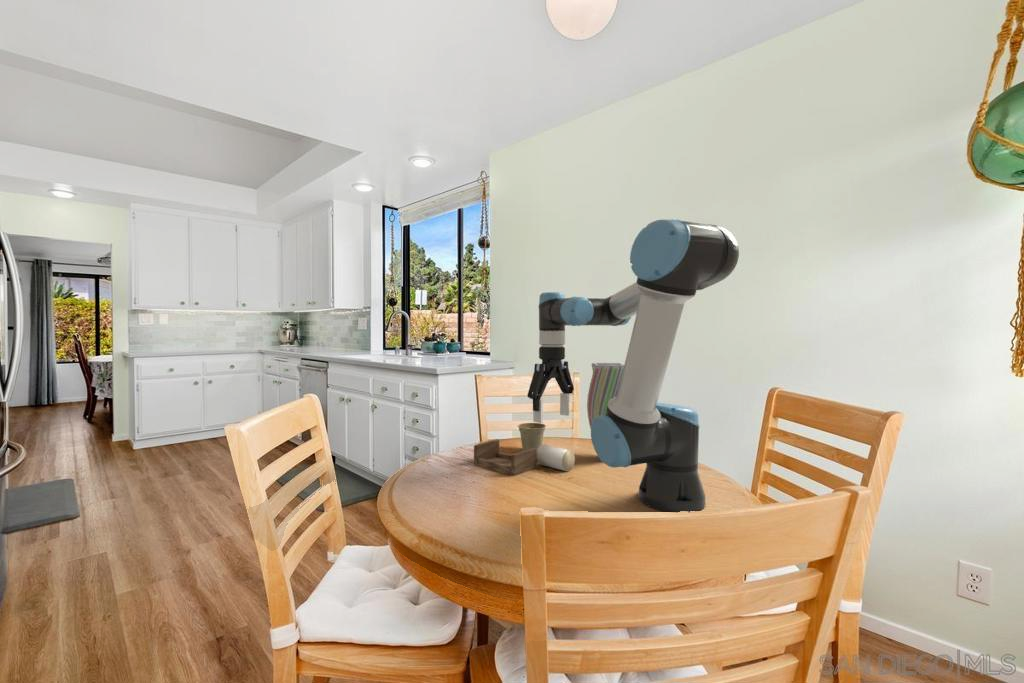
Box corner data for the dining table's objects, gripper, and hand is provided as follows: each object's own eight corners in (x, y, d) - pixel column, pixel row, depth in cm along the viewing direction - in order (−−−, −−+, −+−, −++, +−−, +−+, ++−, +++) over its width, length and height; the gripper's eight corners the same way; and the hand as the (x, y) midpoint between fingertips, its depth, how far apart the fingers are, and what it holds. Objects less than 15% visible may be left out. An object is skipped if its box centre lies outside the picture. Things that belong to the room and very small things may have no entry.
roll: (573, 471, 135) (576, 450, 136) (562, 471, 131) (564, 449, 131) (545, 464, 142) (548, 444, 142) (534, 464, 137) (537, 443, 138)
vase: (583, 453, 152) (584, 361, 150) (625, 453, 151) (626, 362, 150) (589, 466, 138) (589, 365, 137) (634, 466, 137) (636, 366, 136)
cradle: (536, 467, 136) (536, 448, 136) (514, 476, 129) (514, 455, 129) (496, 457, 147) (496, 439, 147) (474, 464, 139) (474, 445, 139)
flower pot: (514, 448, 157) (514, 423, 157) (539, 446, 160) (540, 421, 160) (522, 456, 148) (523, 429, 148) (550, 453, 151) (550, 427, 151)
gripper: (564, 344, 146) (564, 410, 147) (514, 347, 127) (514, 423, 128) (585, 344, 142) (584, 413, 142) (536, 347, 122) (536, 427, 123)
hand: (551, 418), depth 135 cm, fingers open, 13 cm apart
